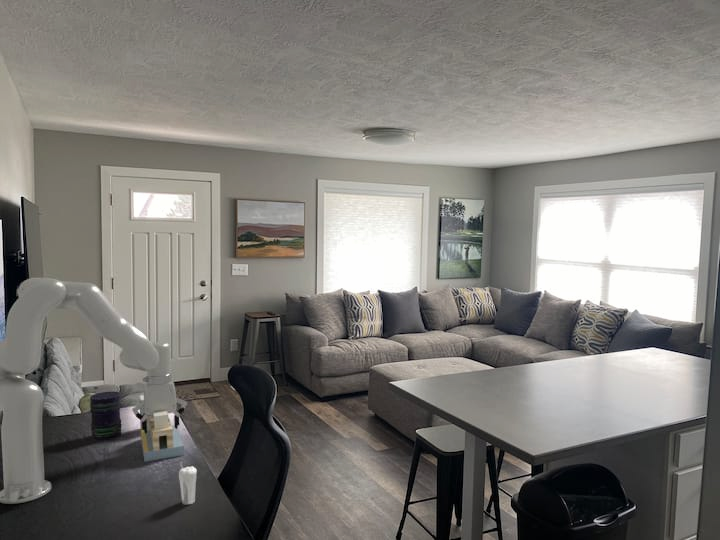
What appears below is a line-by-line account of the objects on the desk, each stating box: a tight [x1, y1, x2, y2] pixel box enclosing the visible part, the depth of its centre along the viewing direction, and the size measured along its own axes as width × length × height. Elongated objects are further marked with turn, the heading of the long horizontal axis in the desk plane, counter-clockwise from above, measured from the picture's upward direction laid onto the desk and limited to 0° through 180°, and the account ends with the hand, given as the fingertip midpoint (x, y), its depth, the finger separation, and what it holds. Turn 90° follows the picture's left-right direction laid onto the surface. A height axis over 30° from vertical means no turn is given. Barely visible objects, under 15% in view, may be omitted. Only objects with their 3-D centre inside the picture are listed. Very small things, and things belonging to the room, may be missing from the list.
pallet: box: [149, 415, 173, 451], centre depth 183 cm, size 22×6×6 cm, turn 24°
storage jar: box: [89, 386, 122, 442], centre depth 194 cm, size 10×10×18 cm
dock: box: [140, 425, 185, 463], centre depth 183 cm, size 22×12×3 cm, turn 24°
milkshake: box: [178, 461, 198, 506], centre depth 143 cm, size 4×5×10 cm
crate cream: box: [153, 411, 169, 429], centre depth 177 cm, size 4×4×4 cm
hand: (161, 429), depth 183 cm, fingers open, 9 cm apart
